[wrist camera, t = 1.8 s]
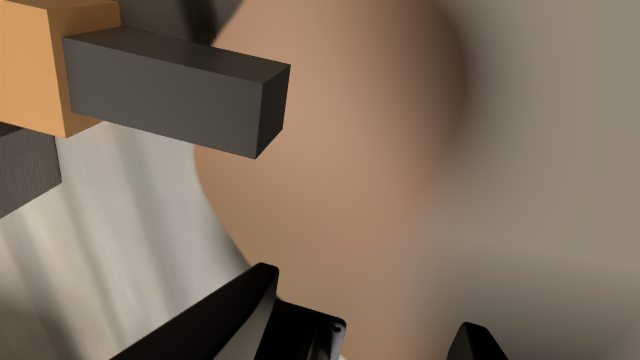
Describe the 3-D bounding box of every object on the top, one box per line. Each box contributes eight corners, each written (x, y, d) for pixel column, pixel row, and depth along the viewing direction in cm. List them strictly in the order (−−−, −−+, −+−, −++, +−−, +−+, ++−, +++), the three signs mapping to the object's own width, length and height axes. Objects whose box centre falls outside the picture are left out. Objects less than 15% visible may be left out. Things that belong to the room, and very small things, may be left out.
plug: (279, 148, 19) (248, 187, 16) (55, 92, 21) (-19, 116, 17) (294, 40, 17) (260, 58, 13) (39, -16, 18) (-51, -12, 15)
